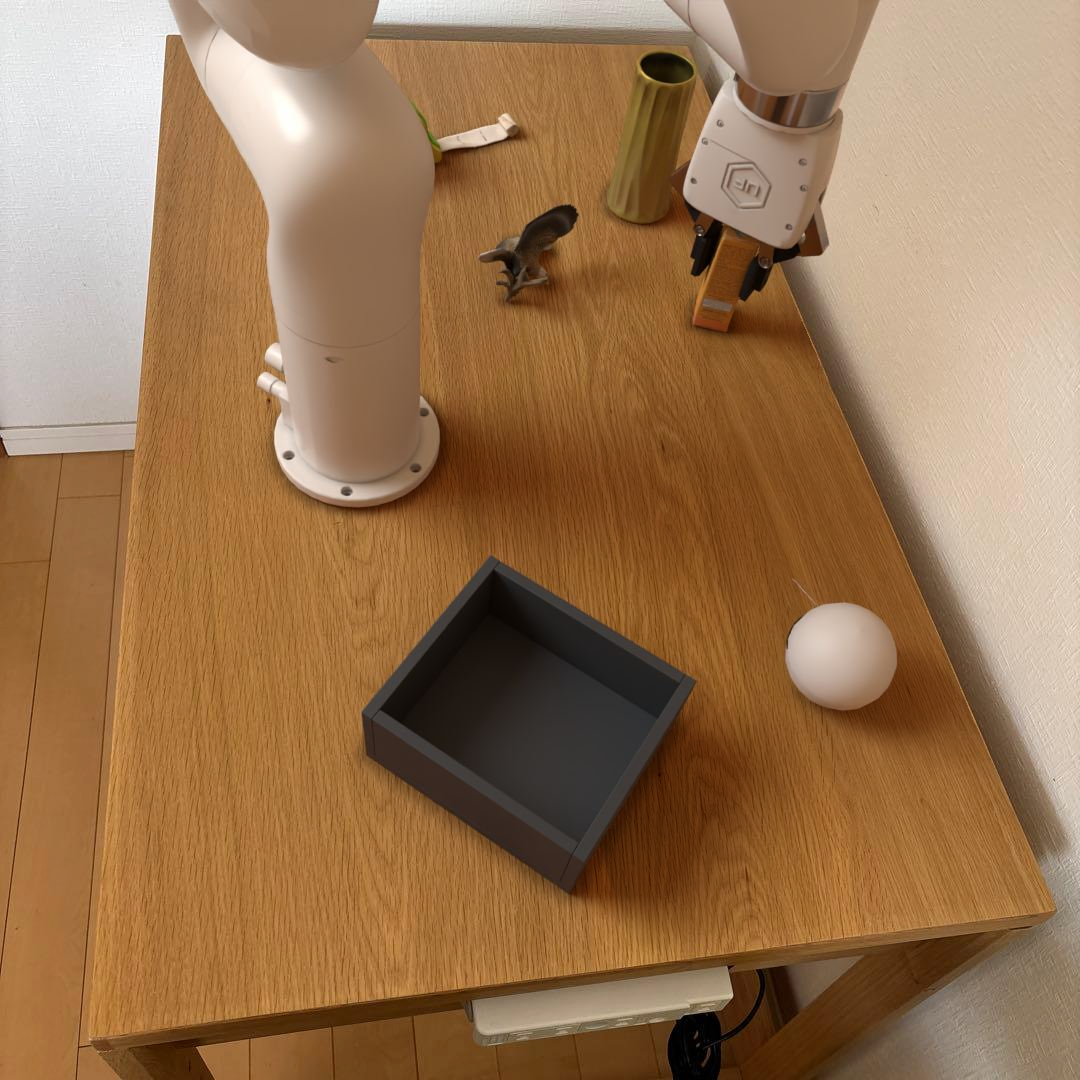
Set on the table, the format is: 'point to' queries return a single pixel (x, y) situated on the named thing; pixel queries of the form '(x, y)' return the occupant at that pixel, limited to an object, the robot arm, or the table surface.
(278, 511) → the table surface
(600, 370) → the table surface
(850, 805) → the table surface
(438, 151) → the toy measuring tape
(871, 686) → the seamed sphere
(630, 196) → the vase
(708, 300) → the supplement box
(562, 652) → the bin
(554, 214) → the eagle figurine
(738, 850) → the table surface
